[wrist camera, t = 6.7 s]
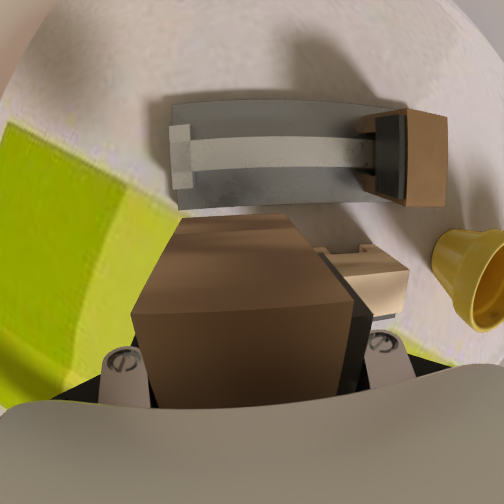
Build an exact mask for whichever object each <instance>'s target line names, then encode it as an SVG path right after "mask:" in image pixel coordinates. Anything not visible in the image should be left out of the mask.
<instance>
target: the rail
mask: <svg viewBox="0 0 504 504" xmlns="http://www.w3.org/2000/svg"><path fill="white" fill-rule="evenodd" d="M172 120H173V126H169V141H170V159H171V174H172V187H173V190H175V189H177V201H178V210H189V209H203V208H218V207H234V206H252V205H274V204H300V203H340V202H395V203H398V204H400V205H403V206H406V207H445V201H446V188H447V168H448V124H447V117H445V116H440V115H436V114H432V113H427V112H423V111H418V110H413V109H408V108H406V109H400V110H394V109H388V108H381V107H374V106H367V105H358V104H349V103H338V102H326V101H310V100H281V99H253V100H224V101H208V102H196V103H185V104H176V105H172Z"/></svg>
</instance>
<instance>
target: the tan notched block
mask: <svg viewBox="0 0 504 504" xmlns="http://www.w3.org/2000/svg"><path fill="white" fill-rule="evenodd" d="M313 249H314V250H315V251H316V253H321V252H323V253H324V255H325V256H326V257H327V258H328V259H329V260H330V262H331V263H332V264H333V265H334V266H335V268H336V269H337V270H338V271H339V272H340V274H341V275H342V276H343V277H344V278H345V280H346V281H347V282H348V283H349V284H350V286H351V287H352V288H353V289H354V290H355V292H356V293H357V294H358V295H359V297H360V298H361V299H362V300H363V302H364V303H365V304H366V305H367V307H368V308H369V309H370V310H371V312H372V313H373V314H374V315H373V320H372V322H373V321H378V320H384V319H390V318H395V314H396V313H399V312H402V308H403V303H404V298H405V293H406V288H407V282H408V277H409V271H410V270H409V269H408V268H406V267H405V266H404V265H402V264H401V263H400V262H398V261H397V260H395V259H394V258H393V257H391V256H390V255H389V254H387V253H386V252H384V251H383V250H381V249H380V248H379V247H377V246H376V245H374V244H361V245H359V253H346V254H331V253H330V252H329V251H328V250H327V249H326V248H325V247H313Z"/></svg>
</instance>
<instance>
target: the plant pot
mask: <svg viewBox="0 0 504 504" xmlns="http://www.w3.org/2000/svg"><path fill="white" fill-rule="evenodd" d="M431 265H432V271H433V273H434V275H435V277H436V278H437V280H438V281H439V282H440V284H441V285H442V286H443V287H444V289H445V290H446V292H447V293H448V294H449V296H450V297H451V299H452V302H453V306H454V309H455V311H456V313H457V314H458V315H459V316H460V317H461V318H462V319H463V320H464V321H465V322H466V323H467V324H468V325H469V326H470V327H471V328H473V329H474V330H475V331H477V332H481V333H483V332H488V331H490V330H492V329H494V328H496V327H497V326H498V325H500V324H501V323H502V322H503V321H504V231H502V230H498V229H490V230H487V231H485V232H478V231H469V230H460V229H452V230H449V231H447V232H446V233H444V234H443V235H442V236H441V237H440V238H439V240H438V241H437V243H436V245H435V247H434V250H433V254H432V261H431Z"/></svg>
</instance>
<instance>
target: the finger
mask: <svg viewBox="0 0 504 504" xmlns="http://www.w3.org/2000/svg"><path fill="white" fill-rule="evenodd" d="M373 315H374V314H373V313H372V312H371V310H370V309H369V308H368V307H367V305H366V304H365V303H364V302H363V300H362V299H361V298H360V297H359V295H358V294H357V293H356V292H355V290H354V289H353V288H352V287H351V286H350V284H349V283H348V282H347V281H346V280H345V278H344V277H343V276H342V275H341V274H340V272H339V271H338V270H337V269H336V268H335V266H334V265H333V264H332V263H331V262H330V260H329V259H328V258H327V257H326V256H325V255H324V253H323V252H321V253H316V251H315V250H314V249H313V248H312V246H311V245H310V244H309V243H308V242H307V240H306V239H305V238H304V237H303V235H302V234H301V233H300V232H299V231H298V229H297V228H296V227H295V226H294V225H293V223H292V222H291V221H290V220H289V219H288V217H287V216H286V215H285V214H284V213H278V214H252V215H230V216H211V217H194V218H182V220H181V221H180V223H179V225H178V226H177V228H176V230H175V232H174V233H173V235H172V237H171V239H170V240H169V242H168V244H167V246H166V247H165V249H164V251H163V253H162V255H161V256H160V258H159V260H158V262H157V264H156V265H155V267H154V269H153V271H152V273H151V275H150V277H149V279H148V280H147V282H146V284H145V286H144V288H143V290H142V292H141V294H140V296H139V298H138V300H137V302H136V304H135V306H134V308H133V310H132V312H131V318H132V322H133V326H134V330H135V334H136V337H137V341H138V345H139V348H140V352H141V355H142V358H143V362H144V365H145V368H146V371H147V374H148V378H149V381H150V384H151V387H152V390H153V392H154V395H155V398H156V401H157V404H158V407H159V408H167V409H214V408H238V407H253V406H265V405H275V404H285V403H293V402H301V401H308V400H315V399H321V398H328V397H333V396H339V395H344V394H350V393H355V390H356V386H357V383H358V379H359V376H360V372H361V368H362V364H363V360H364V356H365V352H366V348H367V343H368V339H369V335H370V330H371V325H372V320H373Z"/></svg>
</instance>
